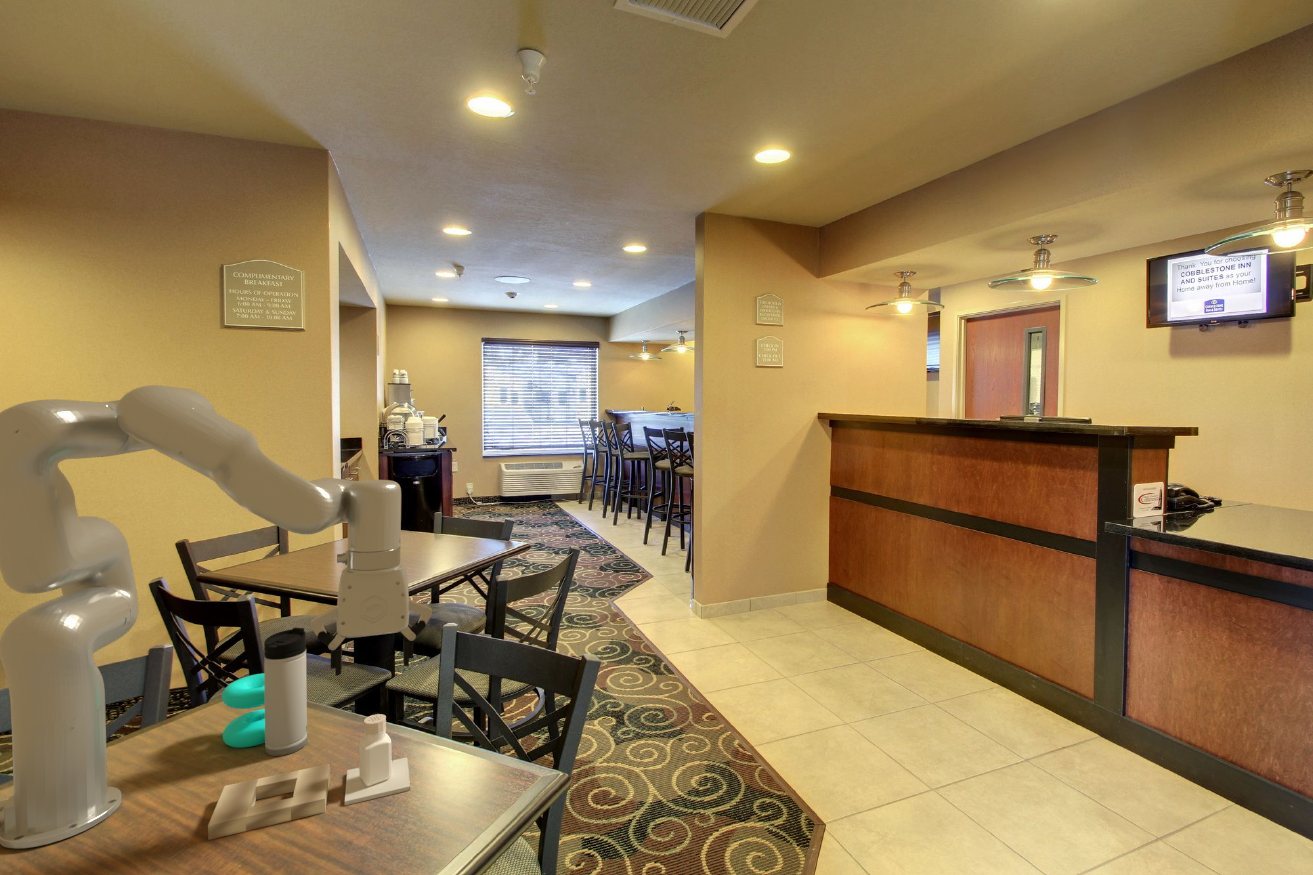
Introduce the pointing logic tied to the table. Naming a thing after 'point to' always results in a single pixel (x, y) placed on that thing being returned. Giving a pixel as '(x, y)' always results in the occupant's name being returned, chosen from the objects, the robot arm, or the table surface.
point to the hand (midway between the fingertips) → (373, 667)
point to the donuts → (251, 724)
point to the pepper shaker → (375, 751)
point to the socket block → (240, 798)
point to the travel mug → (285, 692)
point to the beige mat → (393, 785)
